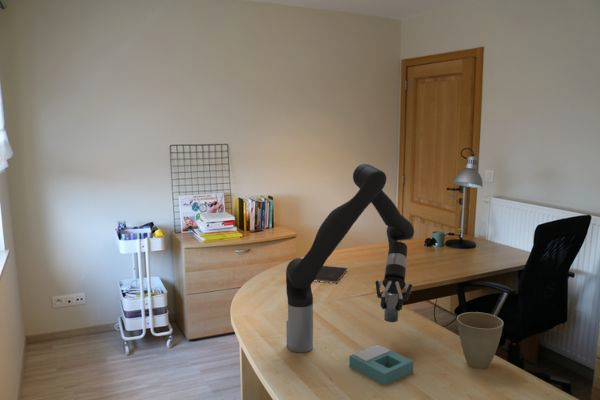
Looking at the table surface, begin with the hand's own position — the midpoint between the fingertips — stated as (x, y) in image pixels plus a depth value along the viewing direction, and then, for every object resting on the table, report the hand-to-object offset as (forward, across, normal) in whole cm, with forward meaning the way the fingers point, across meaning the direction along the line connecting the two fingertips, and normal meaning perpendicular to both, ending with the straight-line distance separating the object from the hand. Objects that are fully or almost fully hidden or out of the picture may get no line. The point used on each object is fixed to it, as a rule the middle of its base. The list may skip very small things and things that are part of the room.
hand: (391, 309), depth 184 cm
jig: (+22, -1, 0) cm, 22 cm away
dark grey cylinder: (+2, 0, +5) cm, 5 cm away
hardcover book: (-44, -42, +67) cm, 91 cm away
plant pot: (+13, +30, +9) cm, 34 cm away
